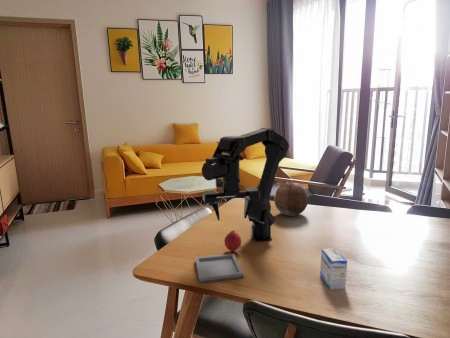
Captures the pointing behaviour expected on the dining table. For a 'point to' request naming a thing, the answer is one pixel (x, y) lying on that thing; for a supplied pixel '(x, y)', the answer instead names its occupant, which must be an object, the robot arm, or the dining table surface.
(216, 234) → the dining table surface
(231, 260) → the dish
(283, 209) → the wooden sphere
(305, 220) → the dining table surface
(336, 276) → the medicine box
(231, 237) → the onion
